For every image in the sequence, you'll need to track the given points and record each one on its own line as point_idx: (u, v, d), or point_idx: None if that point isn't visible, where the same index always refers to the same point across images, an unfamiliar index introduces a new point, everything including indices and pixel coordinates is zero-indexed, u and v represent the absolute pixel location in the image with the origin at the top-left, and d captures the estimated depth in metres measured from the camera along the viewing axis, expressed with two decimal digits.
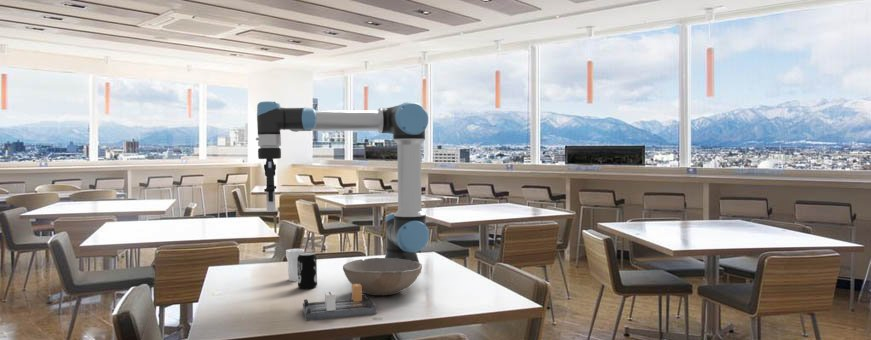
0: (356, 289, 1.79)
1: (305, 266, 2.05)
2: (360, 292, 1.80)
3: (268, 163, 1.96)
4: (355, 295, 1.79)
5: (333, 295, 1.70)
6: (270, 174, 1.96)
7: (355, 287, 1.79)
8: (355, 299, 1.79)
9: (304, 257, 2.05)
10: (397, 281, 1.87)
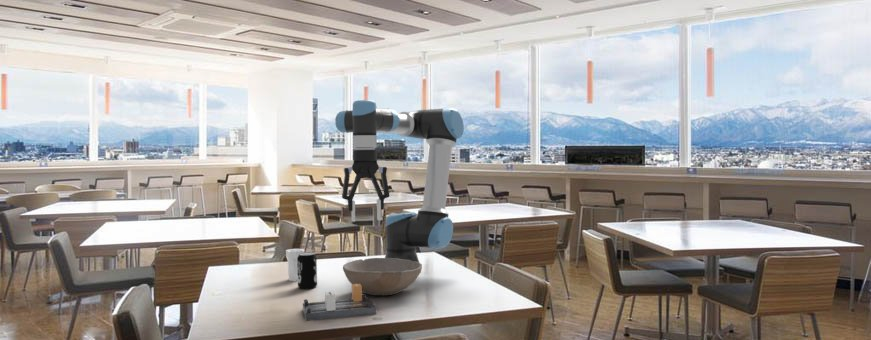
0: (356, 289, 1.79)
1: (305, 266, 2.05)
2: (360, 292, 1.80)
3: (344, 170, 1.89)
4: (355, 295, 1.79)
5: (333, 295, 1.70)
6: (344, 182, 1.88)
7: (355, 287, 1.79)
8: (355, 299, 1.79)
9: (303, 257, 2.05)
10: (397, 281, 1.87)
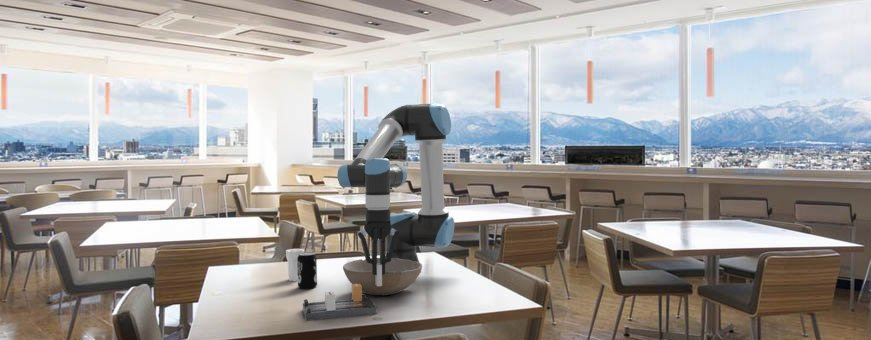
0: (356, 289, 1.79)
1: (305, 266, 2.05)
2: (360, 292, 1.80)
3: (358, 235, 1.81)
4: (355, 295, 1.79)
5: (333, 295, 1.70)
6: (363, 246, 1.81)
7: (355, 287, 1.79)
8: (355, 299, 1.79)
9: (303, 257, 2.05)
10: (397, 281, 1.87)
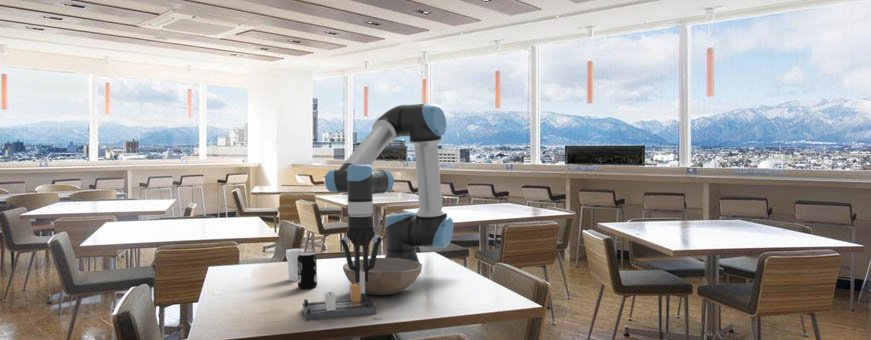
0: (355, 289, 1.79)
1: (305, 266, 2.05)
2: (359, 292, 1.80)
3: None
4: (354, 295, 1.79)
5: (333, 295, 1.70)
6: (345, 253, 1.80)
7: (354, 287, 1.79)
8: (354, 299, 1.79)
9: (303, 257, 2.05)
10: (397, 281, 1.87)
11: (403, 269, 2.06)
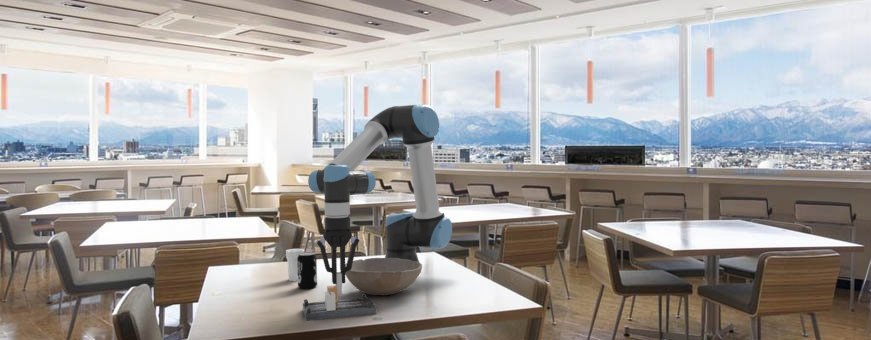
0: (332, 291, 1.77)
1: (305, 266, 2.05)
2: (335, 294, 1.78)
3: (317, 243, 1.78)
4: None
5: (333, 295, 1.70)
6: (322, 255, 1.78)
7: (330, 289, 1.77)
8: None
9: (303, 257, 2.05)
10: (397, 281, 1.87)
11: (403, 269, 2.06)
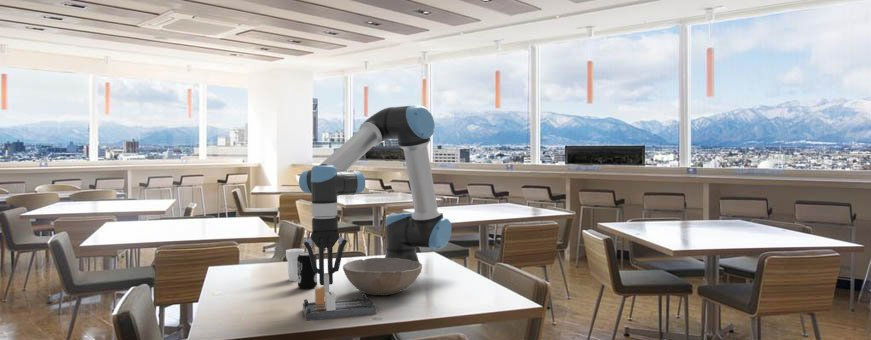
0: (319, 292, 1.76)
1: (305, 266, 2.05)
2: (323, 295, 1.77)
3: None
4: (317, 298, 1.76)
5: (333, 295, 1.70)
6: (309, 256, 1.77)
7: (317, 290, 1.76)
8: (317, 302, 1.76)
9: (303, 257, 2.05)
10: (397, 281, 1.87)
11: (403, 269, 2.06)
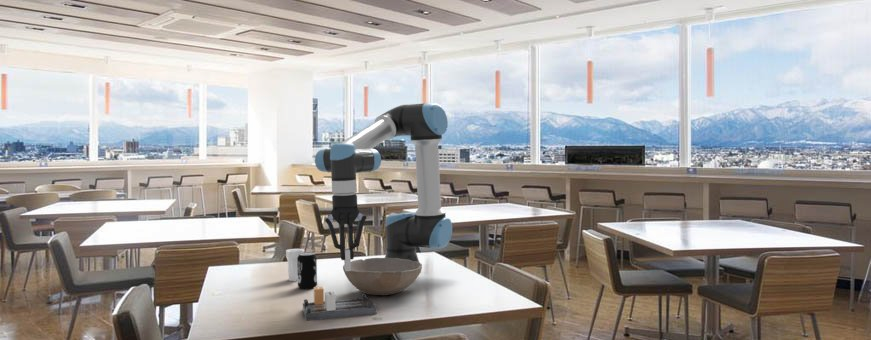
0: (318, 292, 1.76)
1: (305, 266, 2.05)
2: (322, 295, 1.77)
3: (325, 220, 1.81)
4: (316, 298, 1.76)
5: (333, 295, 1.70)
6: (330, 232, 1.81)
7: (316, 290, 1.76)
8: (316, 302, 1.76)
9: (303, 257, 2.05)
10: (397, 281, 1.87)
11: (403, 269, 2.06)
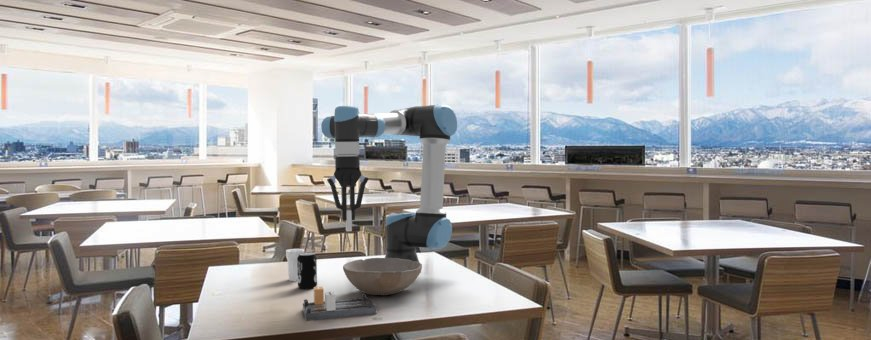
0: (318, 292, 1.76)
1: (305, 266, 2.05)
2: (322, 295, 1.77)
3: None
4: (316, 298, 1.76)
5: (333, 295, 1.70)
6: (332, 192, 1.85)
7: (316, 290, 1.76)
8: (316, 302, 1.76)
9: (303, 257, 2.05)
10: (397, 281, 1.87)
11: (403, 269, 2.06)
